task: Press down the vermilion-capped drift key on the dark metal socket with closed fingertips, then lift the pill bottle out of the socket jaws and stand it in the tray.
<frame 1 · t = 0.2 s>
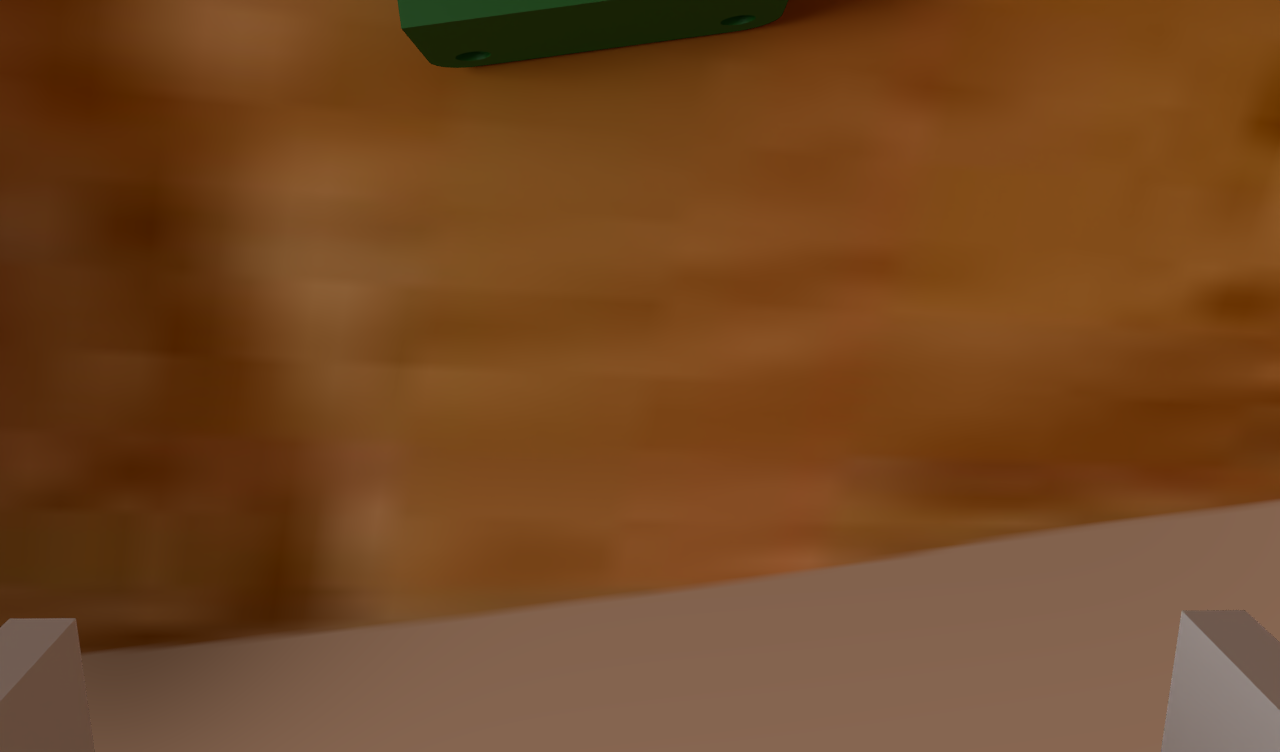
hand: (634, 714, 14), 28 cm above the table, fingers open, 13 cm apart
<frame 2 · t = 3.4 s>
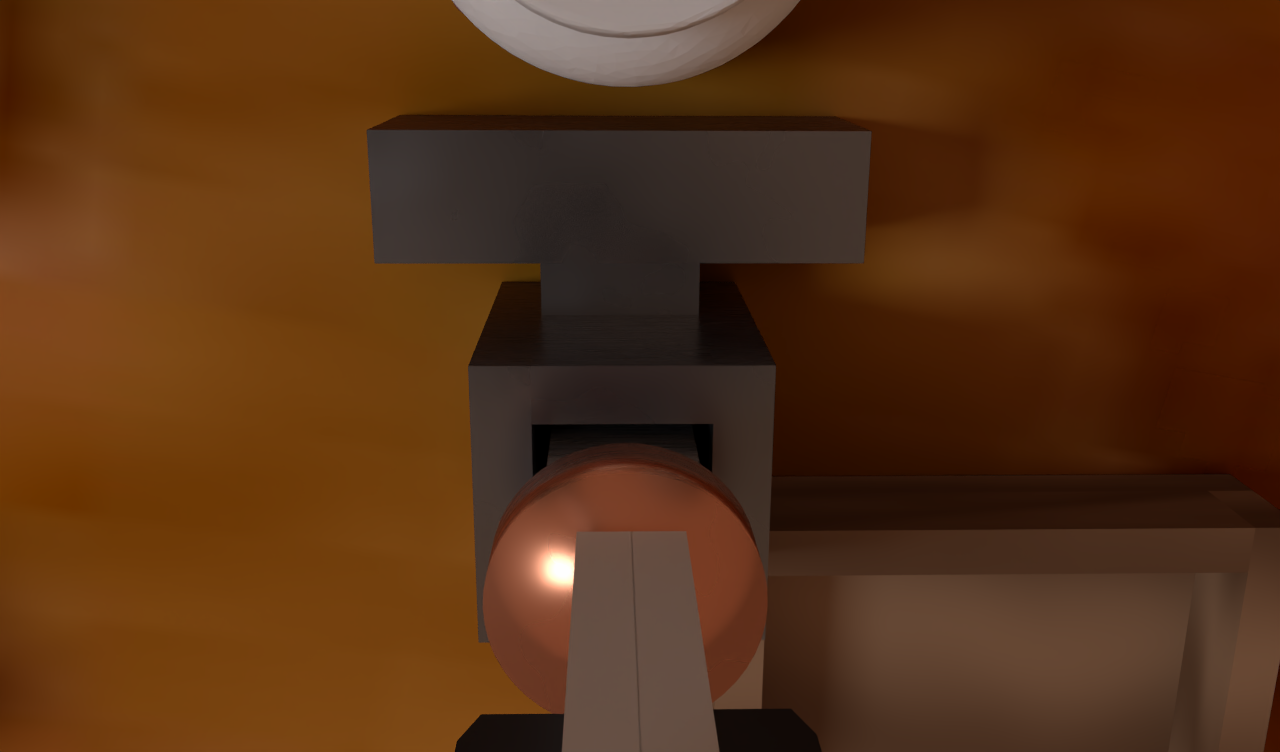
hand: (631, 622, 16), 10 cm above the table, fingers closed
tray: (949, 706, 29), on the table
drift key: (622, 505, 20), point 6 cm above the table, slide at 1.2 cm, touching gripper
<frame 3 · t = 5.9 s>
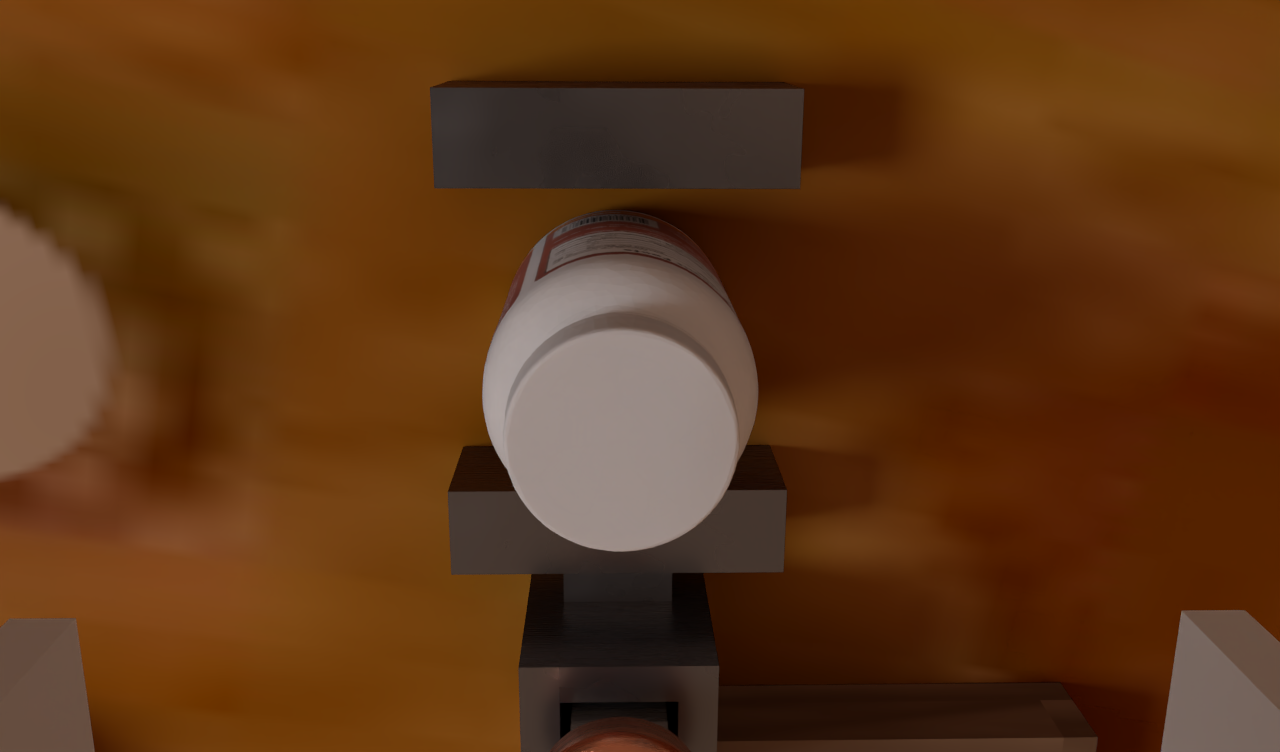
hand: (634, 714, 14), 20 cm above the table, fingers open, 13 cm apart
pill bottle: (616, 311, 34), on the table
socket: (616, 313, 34), on the table
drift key: (618, 732, 31), point 6 cm above the table, slide at 2.1 cm
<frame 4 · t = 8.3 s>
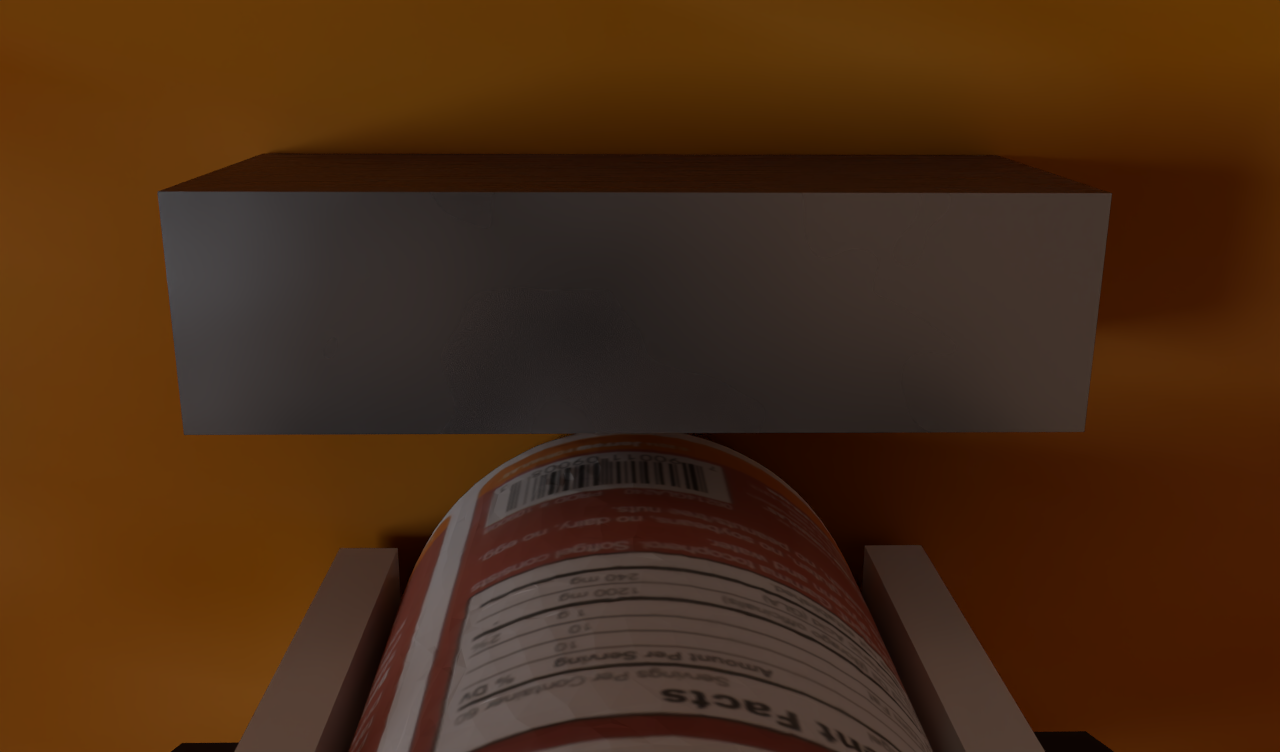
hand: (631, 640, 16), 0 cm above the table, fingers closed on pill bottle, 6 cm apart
pill bottle: (630, 617, 17), on the table, touching gripper
socket: (631, 624, 16), on the table
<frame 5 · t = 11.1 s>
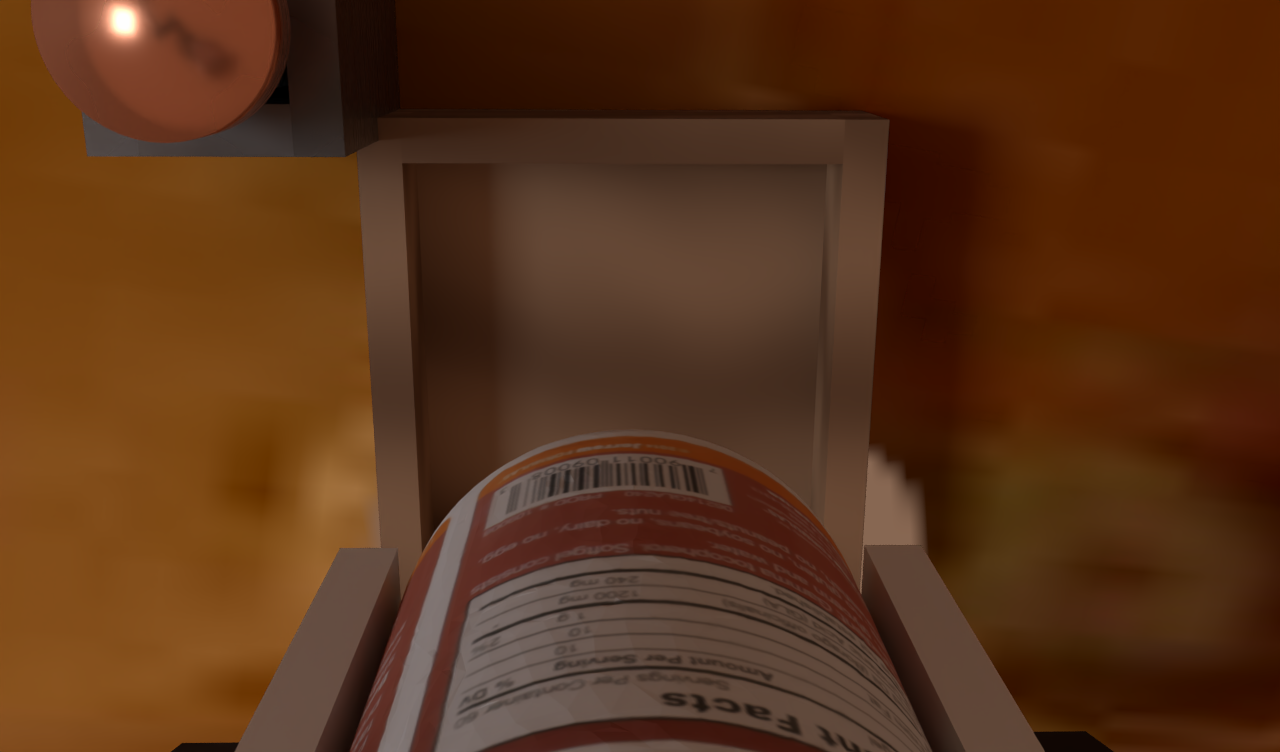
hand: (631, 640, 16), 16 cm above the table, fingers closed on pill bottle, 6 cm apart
pill bottle: (630, 619, 17), point 15 cm above the table, touching gripper
tray: (622, 343, 31), on the table
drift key: (219, 23, 23), point 6 cm above the table, slide at 2.1 cm
when the fingers open (3 cm above the table, at t = 13.8 s): pill bottle drops 1 cm, resting on tray.
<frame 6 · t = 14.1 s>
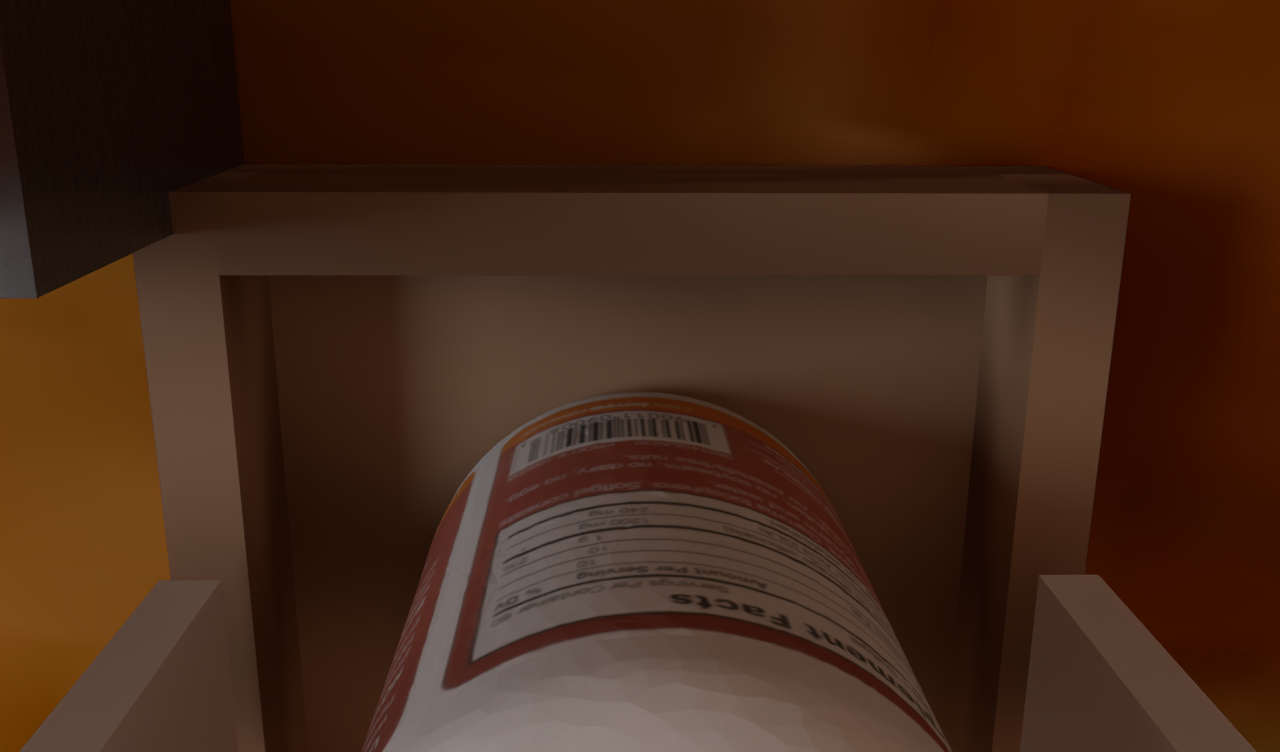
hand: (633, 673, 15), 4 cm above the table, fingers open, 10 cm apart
pill bottle: (639, 569, 18), point 1 cm above the table, touching tray
tray: (628, 548, 19), on the table
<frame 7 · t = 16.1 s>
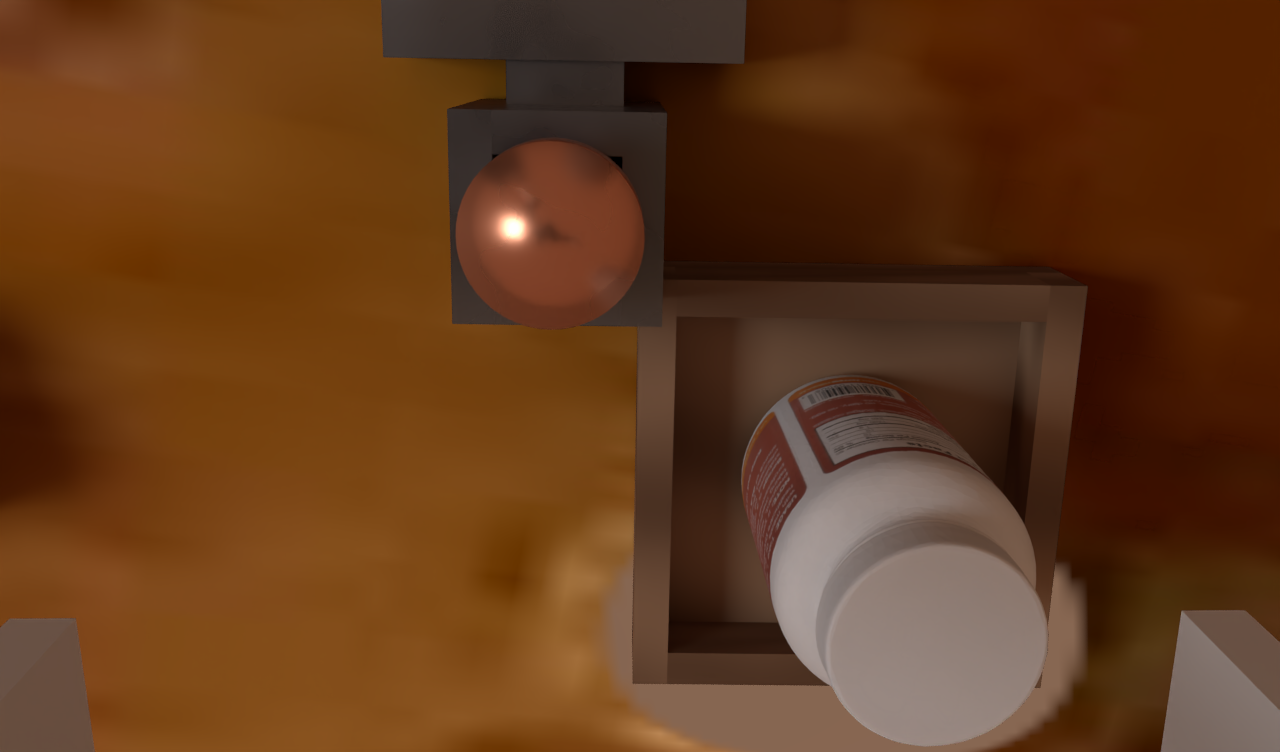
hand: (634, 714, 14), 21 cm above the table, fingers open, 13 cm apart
pill bottle: (841, 466, 35), point 1 cm above the table, touching tray
tray: (832, 458, 36), on the table
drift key: (559, 215, 29), point 6 cm above the table, slide at 2.1 cm
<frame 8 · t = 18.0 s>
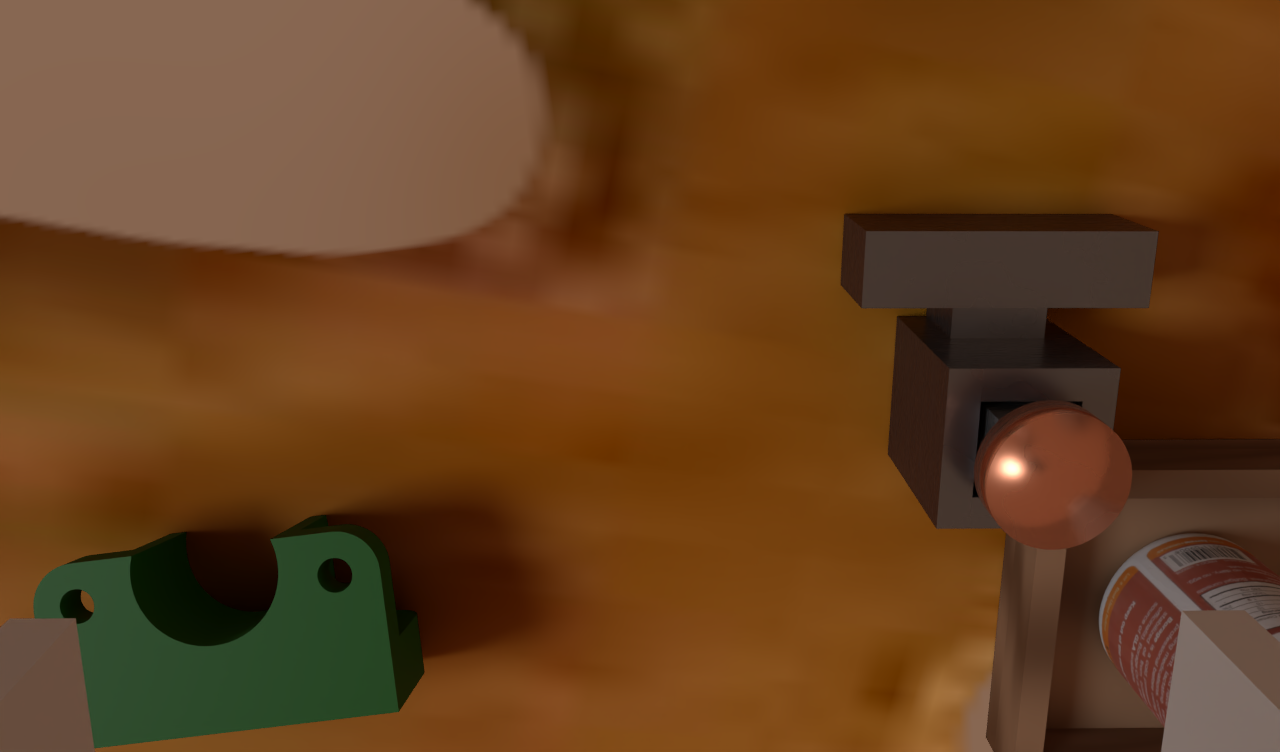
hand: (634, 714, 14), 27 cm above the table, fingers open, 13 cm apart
pill bottle: (1175, 602, 43), point 1 cm above the table, touching tray
clamp: (265, 583, 43), on the table
tray: (1161, 593, 44), on the table
socket: (989, 91, 38), on the table
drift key: (1016, 439, 36), point 6 cm above the table, slide at 2.1 cm
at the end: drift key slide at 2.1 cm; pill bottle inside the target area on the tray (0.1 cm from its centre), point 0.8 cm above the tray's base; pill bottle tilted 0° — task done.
